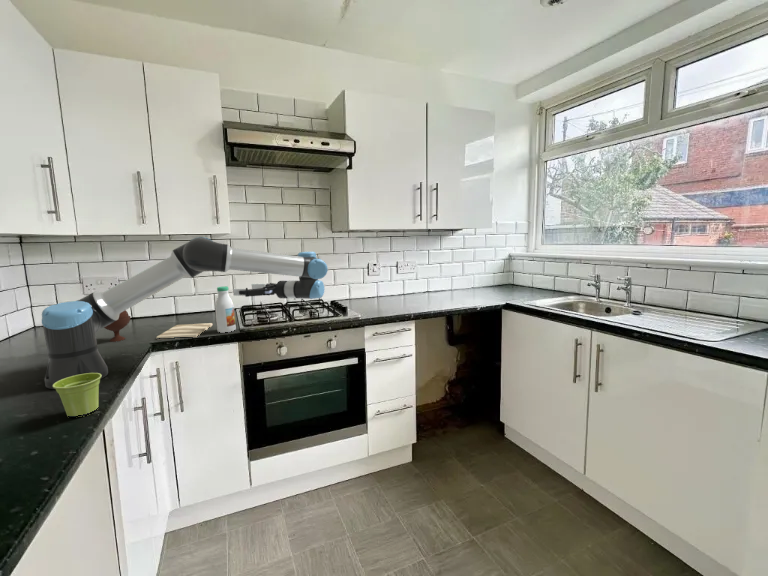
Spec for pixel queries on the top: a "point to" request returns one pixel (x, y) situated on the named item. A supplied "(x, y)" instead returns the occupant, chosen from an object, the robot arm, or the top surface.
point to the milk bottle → (224, 311)
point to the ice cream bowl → (118, 326)
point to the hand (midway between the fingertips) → (243, 289)
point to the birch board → (185, 330)
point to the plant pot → (79, 393)
